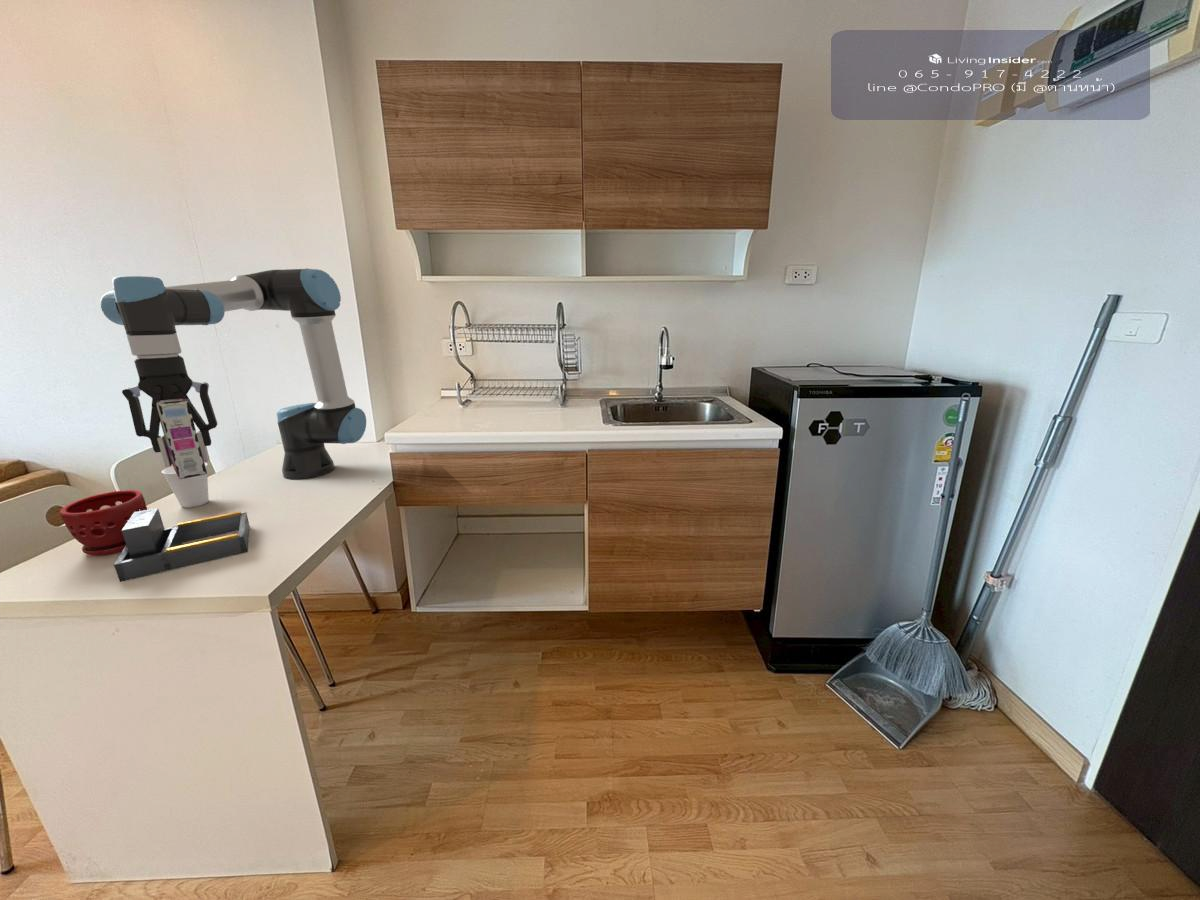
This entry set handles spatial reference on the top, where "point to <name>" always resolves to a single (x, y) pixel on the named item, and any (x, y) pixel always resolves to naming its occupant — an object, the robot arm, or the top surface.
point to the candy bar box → (181, 437)
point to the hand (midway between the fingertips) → (188, 462)
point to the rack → (177, 543)
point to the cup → (188, 488)
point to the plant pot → (102, 520)
